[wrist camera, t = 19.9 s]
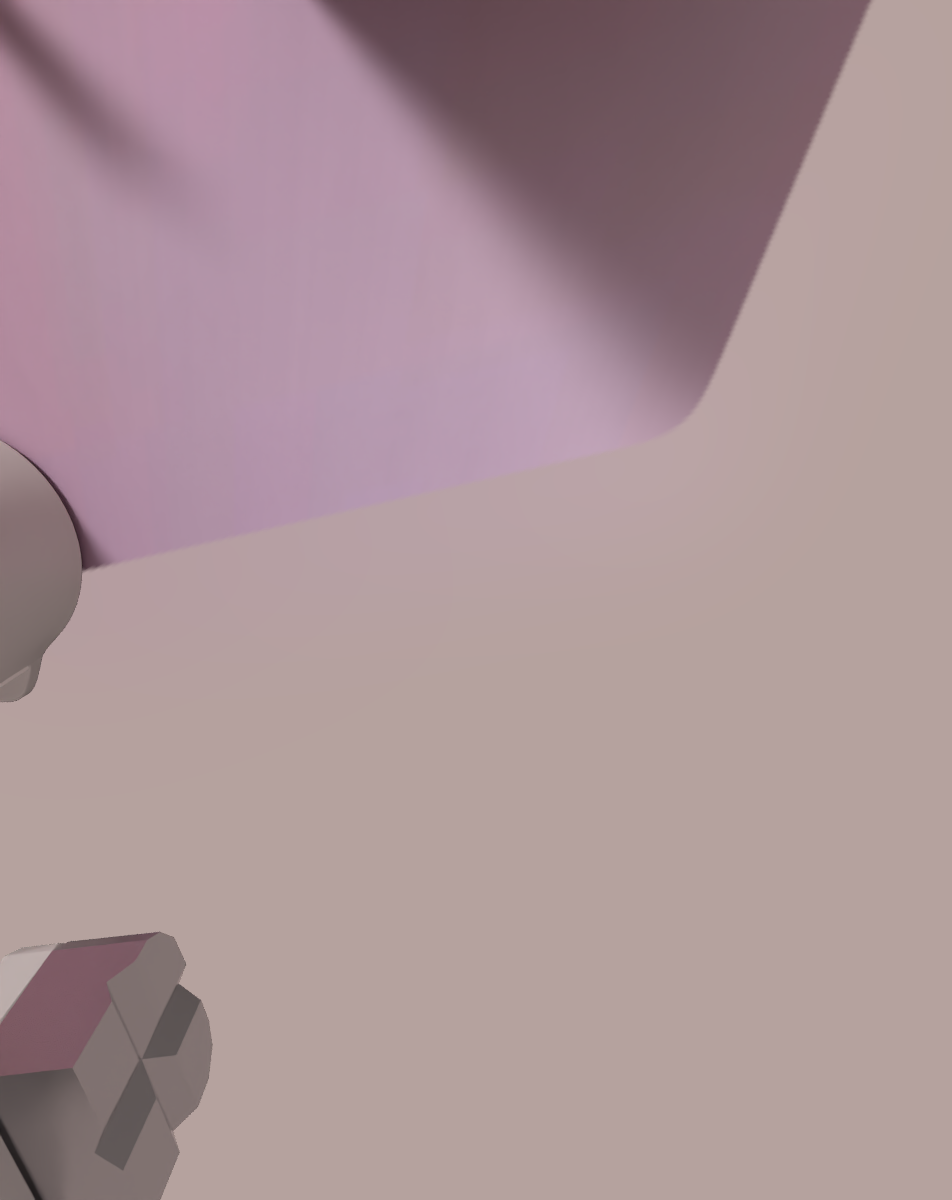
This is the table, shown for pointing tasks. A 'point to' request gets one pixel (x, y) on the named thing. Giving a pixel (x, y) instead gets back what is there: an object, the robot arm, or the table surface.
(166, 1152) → the robot arm
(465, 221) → the table surface
